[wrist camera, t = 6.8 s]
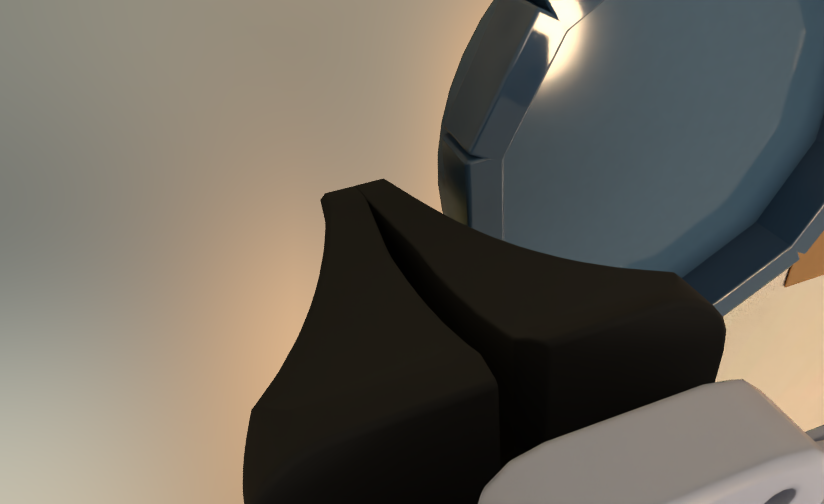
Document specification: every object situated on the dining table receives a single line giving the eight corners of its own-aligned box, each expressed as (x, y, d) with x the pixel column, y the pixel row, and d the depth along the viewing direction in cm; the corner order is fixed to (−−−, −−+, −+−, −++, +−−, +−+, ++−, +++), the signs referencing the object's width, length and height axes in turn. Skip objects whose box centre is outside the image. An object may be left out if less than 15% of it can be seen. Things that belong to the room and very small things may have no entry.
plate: (443, 340, 18) (478, 404, 16) (401, -102, 11) (453, -84, 9) (765, 239, 20) (831, 284, 18) (888, -179, 13) (1014, -178, 11)
